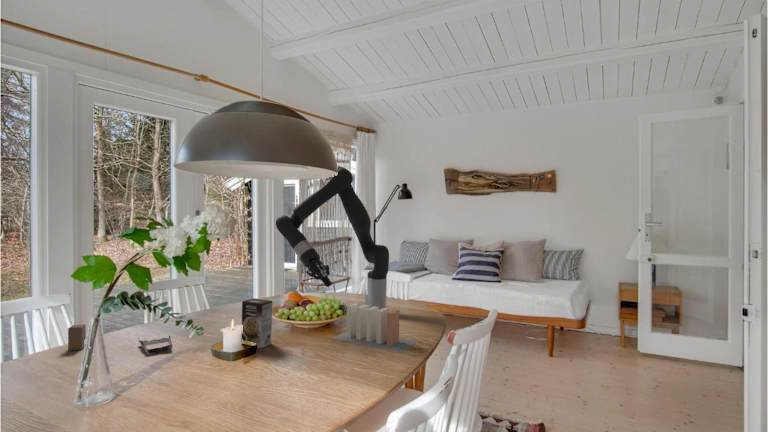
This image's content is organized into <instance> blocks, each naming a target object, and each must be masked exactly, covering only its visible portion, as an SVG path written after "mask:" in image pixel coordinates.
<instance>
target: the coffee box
mask: <svg viewBox="0 0 768 432" xmlns="http://www.w3.org/2000/svg"><path fill="white" fill-rule="evenodd" d="M272 323H273V300H269V299H259V298H254V297H253V298H250V299H245V300H242V301H241V326H242V325H243V333H242V332H241V340H242V339H243V340H244V341H250V342H253V343H256V344H257V349H264V348H265V347H267V346H268V345H269V346H270V345H271V344H272V330H273V329H272V325H273V324H272Z"/></svg>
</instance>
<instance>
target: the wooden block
mask: <svg viewBox="0 0 768 432" xmlns="http://www.w3.org/2000/svg"><path fill="white" fill-rule="evenodd" d="M86 327H87V326H86V324H84V323H82V324H72V325H71V326H70V327H68V330H67V335H68V338H67V350H68V351H69V352H70V351H72V350H73V351H82V350H83V349H84V348H85V347H84V340H85V338H86V330H87V329H86Z"/></svg>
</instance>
